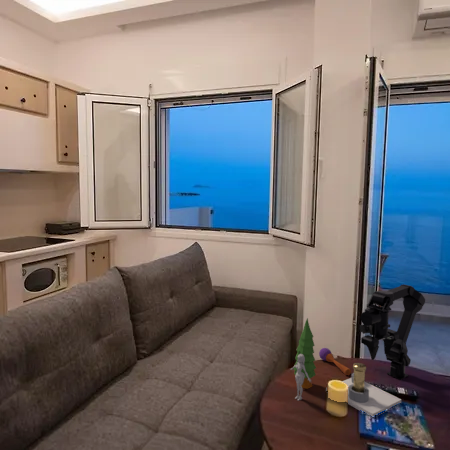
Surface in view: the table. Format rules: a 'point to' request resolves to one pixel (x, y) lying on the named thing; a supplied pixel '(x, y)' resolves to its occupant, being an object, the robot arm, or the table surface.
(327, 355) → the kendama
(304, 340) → the decorative tree
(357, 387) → the disc
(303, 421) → the table surface
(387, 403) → the socket plate
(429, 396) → the table surface
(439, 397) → the table surface
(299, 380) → the human figurine
